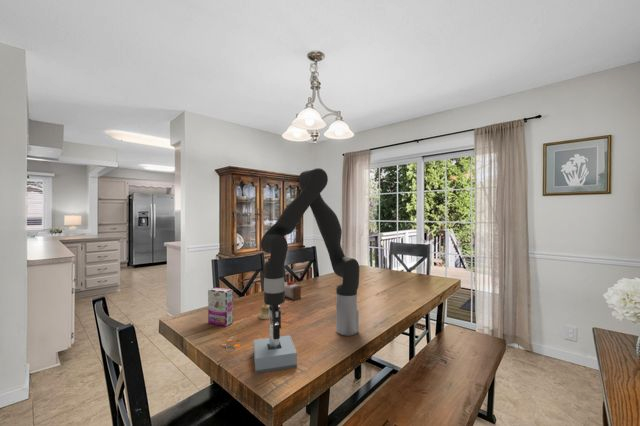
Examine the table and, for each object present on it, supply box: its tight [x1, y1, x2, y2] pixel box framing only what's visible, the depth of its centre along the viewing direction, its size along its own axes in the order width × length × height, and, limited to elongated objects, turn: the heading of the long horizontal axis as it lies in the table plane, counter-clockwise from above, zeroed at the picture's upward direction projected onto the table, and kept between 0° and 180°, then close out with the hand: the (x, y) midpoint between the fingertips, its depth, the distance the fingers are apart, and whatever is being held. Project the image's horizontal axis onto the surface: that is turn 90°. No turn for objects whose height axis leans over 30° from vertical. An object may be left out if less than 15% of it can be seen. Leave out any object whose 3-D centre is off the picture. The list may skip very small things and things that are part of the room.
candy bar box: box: [207, 287, 234, 327], centre depth 134 cm, size 11×5×16 cm, turn 68°
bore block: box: [253, 335, 298, 374], centre depth 101 cm, size 14×14×5 cm
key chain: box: [218, 336, 241, 353], centre depth 113 cm, size 13×7×1 cm, turn 35°
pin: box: [268, 322, 279, 350], centre depth 101 cm, size 4×4×12 cm
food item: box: [285, 280, 302, 301], centre depth 175 cm, size 14×8×10 cm, turn 43°
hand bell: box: [257, 303, 270, 320], centre depth 143 cm, size 8×8×16 cm
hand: (274, 333), depth 101 cm, fingers open, 8 cm apart
